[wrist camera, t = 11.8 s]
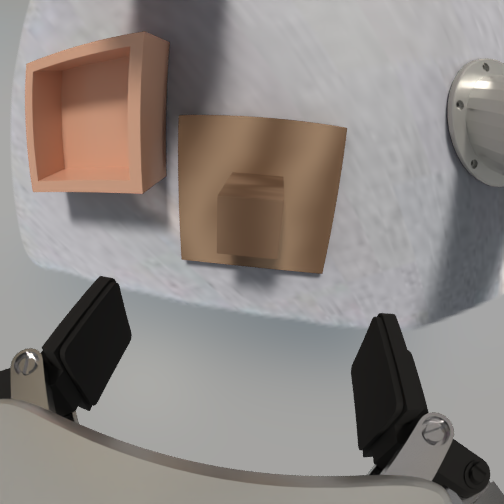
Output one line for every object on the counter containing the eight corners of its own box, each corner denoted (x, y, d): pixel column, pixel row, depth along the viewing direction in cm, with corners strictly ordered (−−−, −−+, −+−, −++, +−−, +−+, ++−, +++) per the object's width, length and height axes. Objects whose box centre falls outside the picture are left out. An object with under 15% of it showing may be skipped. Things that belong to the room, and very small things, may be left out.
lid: (345, 127, 21) (369, 137, 15) (321, 269, 27) (330, 316, 21) (181, 114, 22) (147, 121, 16) (184, 255, 28) (160, 298, 22)
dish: (169, 42, 19) (144, 31, 14) (166, 176, 25) (142, 193, 20) (60, 63, 19) (26, 64, 15) (63, 176, 25) (32, 191, 21)
